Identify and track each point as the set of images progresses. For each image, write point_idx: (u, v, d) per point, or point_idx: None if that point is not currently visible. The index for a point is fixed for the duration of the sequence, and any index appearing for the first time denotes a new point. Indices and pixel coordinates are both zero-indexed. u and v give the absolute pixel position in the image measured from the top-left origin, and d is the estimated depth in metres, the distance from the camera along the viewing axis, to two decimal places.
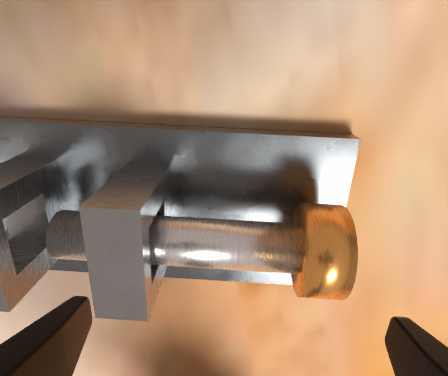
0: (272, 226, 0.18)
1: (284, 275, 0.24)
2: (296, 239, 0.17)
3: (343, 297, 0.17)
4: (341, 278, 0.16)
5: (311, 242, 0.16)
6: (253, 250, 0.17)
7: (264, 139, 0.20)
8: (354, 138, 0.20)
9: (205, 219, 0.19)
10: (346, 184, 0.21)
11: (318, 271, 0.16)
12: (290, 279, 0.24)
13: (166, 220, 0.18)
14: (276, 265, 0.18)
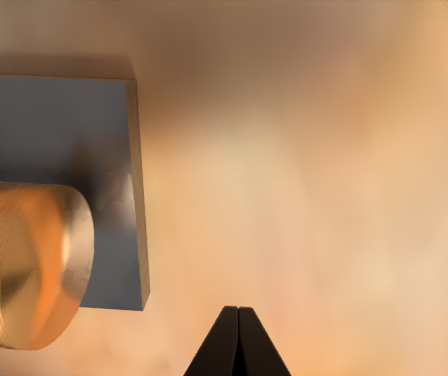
0: None
1: None
2: None
3: (19, 348, 0.09)
4: None
5: None
6: None
7: None
8: (118, 81, 0.13)
9: None
10: (124, 157, 0.14)
11: None
12: (85, 299, 0.17)
13: None
14: None
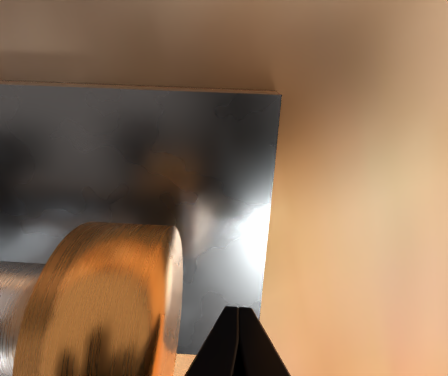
0: (4, 278, 0.08)
1: (178, 339, 0.14)
2: None
3: None
4: None
5: (19, 336, 0.06)
6: None
7: (95, 98, 0.10)
8: (271, 94, 0.10)
9: None
10: (264, 185, 0.11)
11: None
12: (189, 346, 0.14)
13: None
14: None
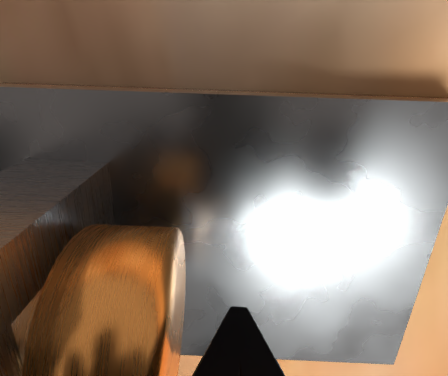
0: None
1: (319, 346, 0.14)
2: None
3: None
4: None
5: (27, 340, 0.06)
6: None
7: (289, 107, 0.10)
8: None
9: None
10: (443, 192, 0.11)
11: None
12: (329, 353, 0.14)
13: None
14: None
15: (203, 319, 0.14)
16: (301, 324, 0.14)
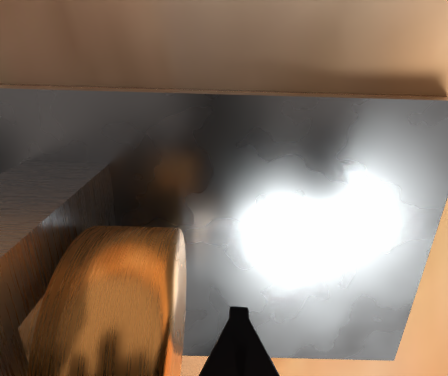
0: None
1: (320, 344, 0.14)
2: None
3: None
4: None
5: (32, 343, 0.06)
6: None
7: (290, 106, 0.10)
8: None
9: None
10: (442, 190, 0.11)
11: None
12: (330, 350, 0.14)
13: None
14: None
15: (205, 319, 0.14)
16: (303, 322, 0.14)
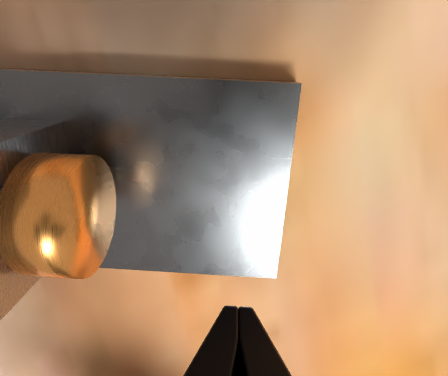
0: None
1: (220, 263, 0.20)
2: None
3: (68, 274, 0.13)
4: (42, 246, 0.12)
5: (0, 196, 0.12)
6: None
7: (178, 84, 0.16)
8: (294, 83, 0.16)
9: None
10: (288, 145, 0.17)
11: (8, 236, 0.12)
12: (228, 268, 0.20)
13: None
14: None
15: (136, 240, 0.19)
16: (205, 244, 0.19)
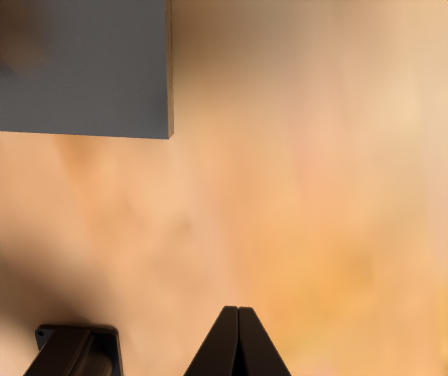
0: None
1: (101, 119, 0.17)
2: None
3: None
4: None
5: None
6: None
7: None
8: None
9: None
10: None
11: None
12: (111, 127, 0.17)
13: None
14: None
15: None
16: (80, 93, 0.16)
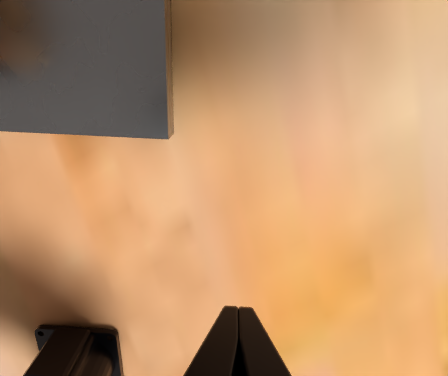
0: None
1: (100, 119, 0.17)
2: None
3: None
4: None
5: None
6: None
7: None
8: None
9: None
10: None
11: None
12: (111, 126, 0.17)
13: None
14: None
15: None
16: (80, 93, 0.16)
